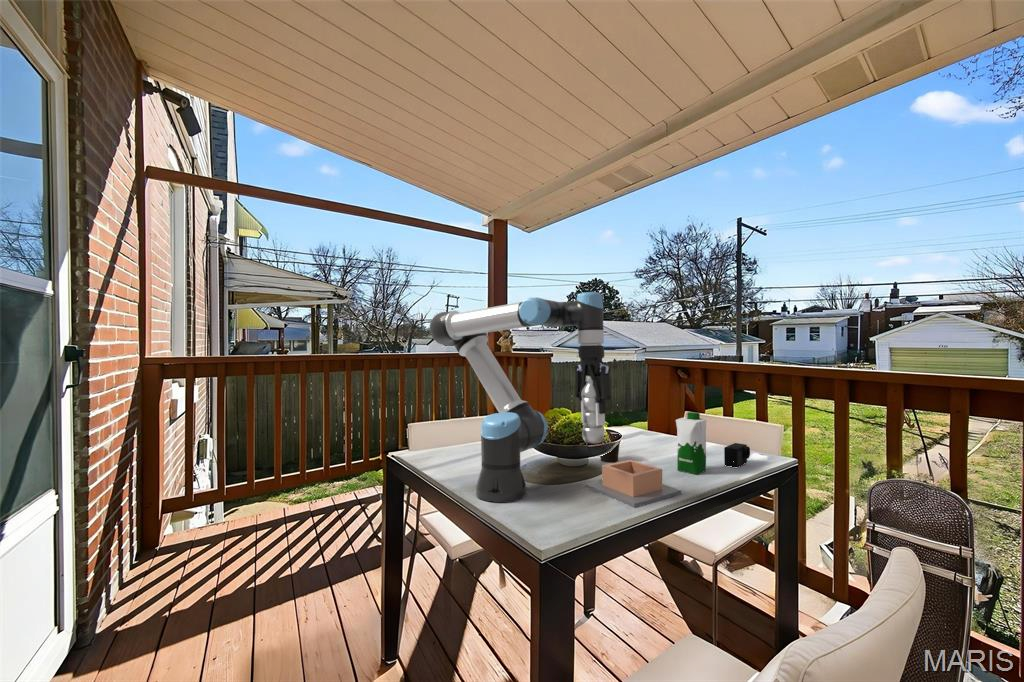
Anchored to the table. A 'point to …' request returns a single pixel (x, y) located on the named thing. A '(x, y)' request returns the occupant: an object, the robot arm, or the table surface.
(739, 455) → the digital camera
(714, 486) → the table surface
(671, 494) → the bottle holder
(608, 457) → the coffee mug
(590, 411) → the silver bottle
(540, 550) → the table surface
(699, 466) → the milk carton
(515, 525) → the table surface
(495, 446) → the robot arm
